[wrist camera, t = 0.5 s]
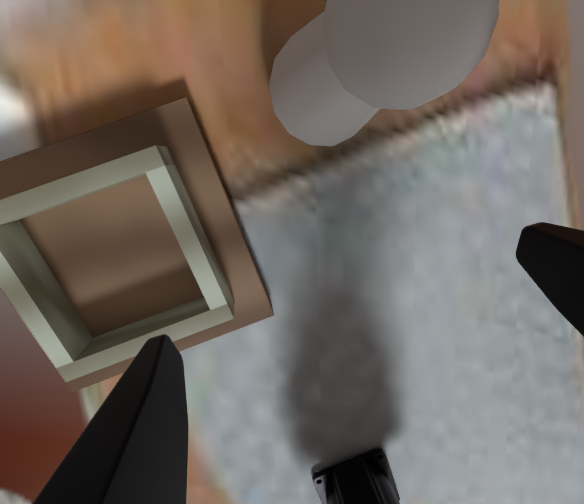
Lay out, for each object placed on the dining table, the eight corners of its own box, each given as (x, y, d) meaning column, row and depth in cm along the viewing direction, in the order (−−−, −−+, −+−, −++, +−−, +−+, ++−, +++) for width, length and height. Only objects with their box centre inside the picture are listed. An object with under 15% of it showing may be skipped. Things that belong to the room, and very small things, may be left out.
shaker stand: (272, 307, 23) (277, 334, 20) (80, 380, 23) (50, 421, 19) (189, 100, 19) (177, 87, 15) (-51, 184, 18) (-122, 190, 15)
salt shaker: (365, 46, 19) (583, -147, 7) (357, 148, 21) (523, 137, 9) (265, 38, 18) (315, -200, 6) (265, 145, 20) (303, 128, 8)
